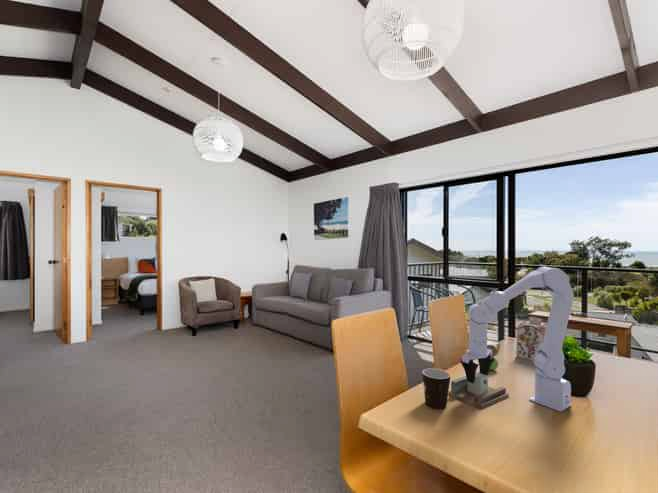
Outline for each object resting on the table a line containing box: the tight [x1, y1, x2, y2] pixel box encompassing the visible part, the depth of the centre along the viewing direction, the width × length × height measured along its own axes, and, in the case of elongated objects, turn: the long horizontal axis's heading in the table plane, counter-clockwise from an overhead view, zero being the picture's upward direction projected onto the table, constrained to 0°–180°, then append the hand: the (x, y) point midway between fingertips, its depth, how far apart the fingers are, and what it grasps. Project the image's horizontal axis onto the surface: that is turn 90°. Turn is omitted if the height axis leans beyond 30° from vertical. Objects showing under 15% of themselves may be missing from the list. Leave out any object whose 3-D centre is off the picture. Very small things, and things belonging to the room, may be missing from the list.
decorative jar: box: [515, 317, 547, 362], centre depth 156 cm, size 12×12×18 cm
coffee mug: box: [421, 367, 452, 410], centre depth 107 cm, size 12×9×10 cm
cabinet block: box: [467, 371, 489, 396], centre depth 116 cm, size 6×4×6 cm
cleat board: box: [448, 371, 510, 410], centre depth 116 cm, size 12×16×5 cm
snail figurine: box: [487, 340, 502, 371], centre depth 140 cm, size 5×6×12 cm
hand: (477, 379), depth 116 cm, fingers open, 7 cm apart
